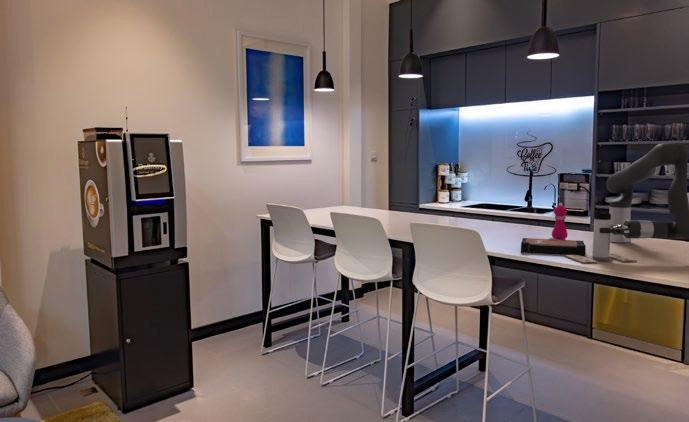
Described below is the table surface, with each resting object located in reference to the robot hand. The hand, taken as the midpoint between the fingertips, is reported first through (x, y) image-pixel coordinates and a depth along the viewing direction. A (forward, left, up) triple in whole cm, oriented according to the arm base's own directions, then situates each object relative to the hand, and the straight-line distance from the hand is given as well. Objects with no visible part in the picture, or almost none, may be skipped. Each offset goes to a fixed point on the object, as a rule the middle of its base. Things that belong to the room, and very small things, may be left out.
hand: (596, 228), depth 214 cm
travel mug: (-2, 0, -13) cm, 13 cm away
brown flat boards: (-2, 0, -13) cm, 13 cm away
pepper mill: (-5, -38, -13) cm, 40 cm away
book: (+8, -20, -14) cm, 26 cm away
